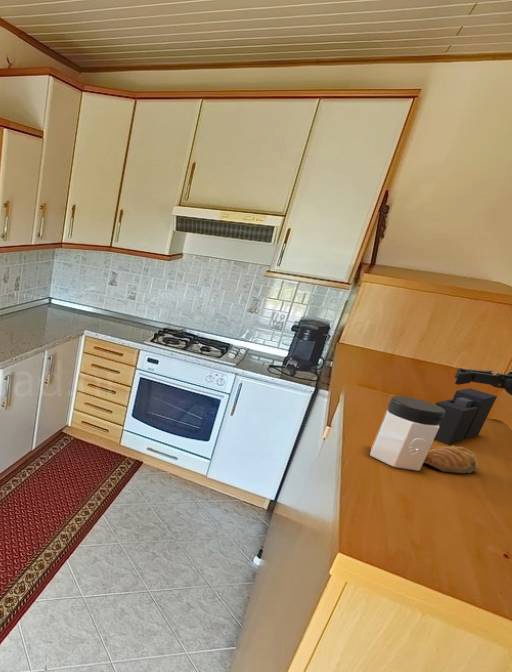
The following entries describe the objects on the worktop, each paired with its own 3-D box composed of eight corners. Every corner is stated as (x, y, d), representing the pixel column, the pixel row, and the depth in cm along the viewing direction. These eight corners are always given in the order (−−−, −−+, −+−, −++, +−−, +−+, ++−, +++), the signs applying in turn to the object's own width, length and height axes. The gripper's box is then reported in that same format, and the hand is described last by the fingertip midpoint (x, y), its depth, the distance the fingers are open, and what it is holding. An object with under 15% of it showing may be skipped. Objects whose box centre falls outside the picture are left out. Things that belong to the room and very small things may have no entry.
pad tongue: (451, 426, 118) (469, 388, 114) (477, 435, 114) (497, 396, 110) (432, 431, 113) (450, 391, 110) (458, 441, 109) (478, 400, 105)
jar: (381, 466, 92) (406, 408, 88) (358, 446, 100) (380, 392, 96) (432, 474, 91) (460, 415, 87) (405, 454, 99) (429, 399, 95)
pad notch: (436, 430, 114) (450, 399, 111) (462, 440, 110) (478, 407, 107) (422, 434, 111) (436, 402, 108) (448, 444, 106) (464, 411, 104)
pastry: (447, 477, 91) (456, 459, 90) (409, 459, 97) (416, 442, 96) (478, 473, 94) (487, 455, 93) (439, 456, 100) (447, 439, 99)
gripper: (591, 415, 115) (560, 425, 106) (461, 379, 136) (425, 385, 126) (608, 386, 113) (578, 393, 103) (473, 353, 133) (437, 357, 123)
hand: (494, 389), depth 114 cm, fingers open, 13 cm apart
